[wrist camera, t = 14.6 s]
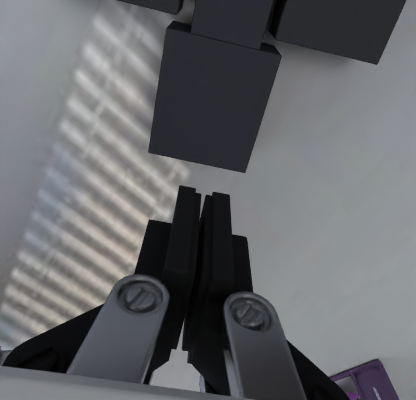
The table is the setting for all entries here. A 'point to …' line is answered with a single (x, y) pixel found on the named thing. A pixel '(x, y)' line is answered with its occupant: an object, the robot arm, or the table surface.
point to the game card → (370, 382)
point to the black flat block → (324, 24)
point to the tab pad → (214, 84)
